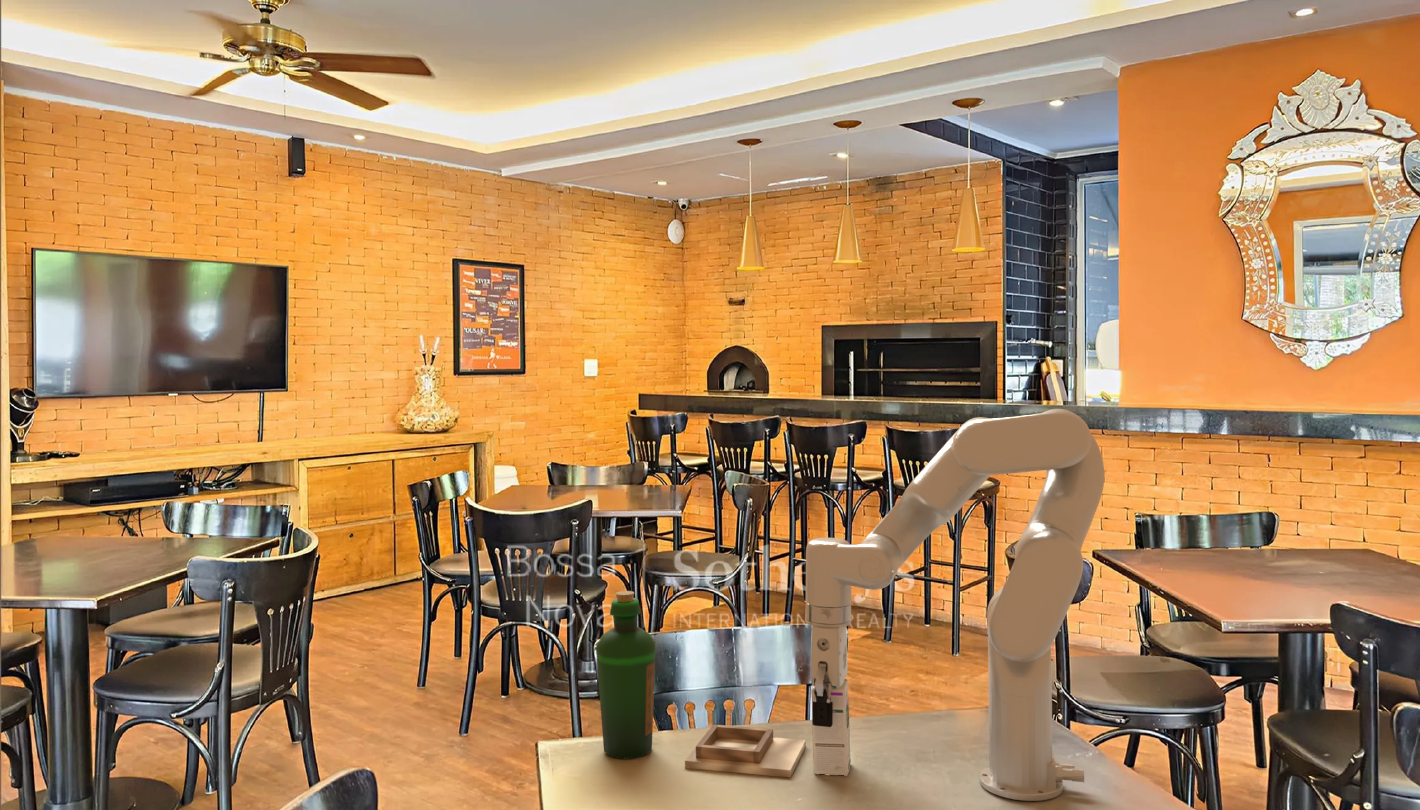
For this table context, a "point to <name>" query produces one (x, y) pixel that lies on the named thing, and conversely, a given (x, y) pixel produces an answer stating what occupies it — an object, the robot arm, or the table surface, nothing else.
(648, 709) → the bottle
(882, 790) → the table surface
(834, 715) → the syrup box
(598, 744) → the table surface
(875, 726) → the table surface
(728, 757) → the stand board
